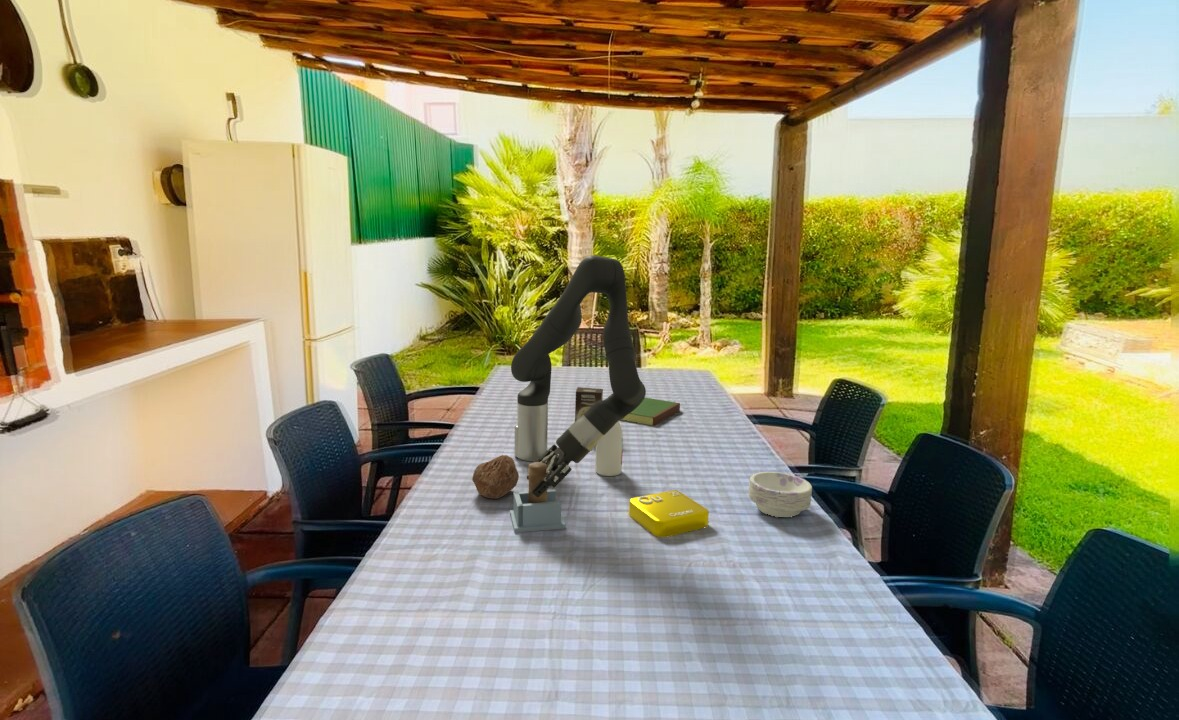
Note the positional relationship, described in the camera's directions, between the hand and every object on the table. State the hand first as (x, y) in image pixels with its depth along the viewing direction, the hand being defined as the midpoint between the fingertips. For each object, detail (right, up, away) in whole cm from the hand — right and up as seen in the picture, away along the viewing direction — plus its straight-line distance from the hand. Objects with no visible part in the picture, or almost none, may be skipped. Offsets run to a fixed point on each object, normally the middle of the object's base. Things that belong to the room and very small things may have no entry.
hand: (531, 487), depth 152 cm
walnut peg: (+1, -7, +2) cm, 8 cm away
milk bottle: (+19, -3, +35) cm, 40 cm away
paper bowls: (+62, -8, +11) cm, 63 cm away
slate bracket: (+1, -8, +2) cm, 9 cm away
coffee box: (+13, +4, +69) cm, 70 cm away
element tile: (+33, -9, +5) cm, 34 cm away
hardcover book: (+35, +9, +96) cm, 103 cm away
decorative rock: (-11, -5, +18) cm, 22 cm away
